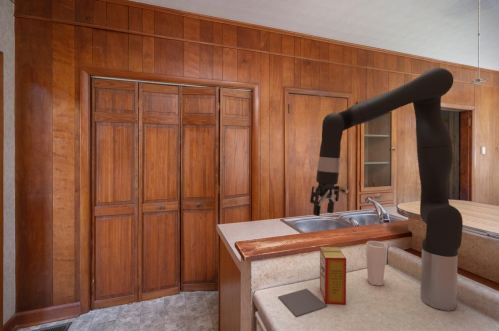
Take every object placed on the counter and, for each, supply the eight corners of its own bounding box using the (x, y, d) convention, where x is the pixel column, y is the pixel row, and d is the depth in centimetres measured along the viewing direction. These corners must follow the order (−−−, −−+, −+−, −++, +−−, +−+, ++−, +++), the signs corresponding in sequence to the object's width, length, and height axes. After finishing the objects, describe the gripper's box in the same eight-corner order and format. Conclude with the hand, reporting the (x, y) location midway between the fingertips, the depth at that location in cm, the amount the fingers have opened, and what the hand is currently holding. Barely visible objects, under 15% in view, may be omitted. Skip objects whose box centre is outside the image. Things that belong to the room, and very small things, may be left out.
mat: (306, 289, 89) (306, 288, 89) (327, 306, 79) (327, 305, 79) (278, 297, 85) (277, 296, 85) (296, 317, 74) (296, 315, 74)
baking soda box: (345, 305, 80) (346, 257, 79) (325, 304, 81) (325, 256, 80) (338, 288, 89) (338, 245, 88) (319, 288, 90) (320, 245, 89)
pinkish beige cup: (389, 287, 90) (390, 247, 89) (370, 287, 90) (371, 247, 89) (379, 277, 97) (380, 240, 96) (362, 277, 97) (363, 240, 96)
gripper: (325, 171, 81) (320, 219, 82) (348, 171, 90) (343, 214, 91) (307, 168, 87) (302, 213, 88) (330, 168, 96) (325, 209, 97)
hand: (323, 214), depth 90 cm, fingers open, 8 cm apart
